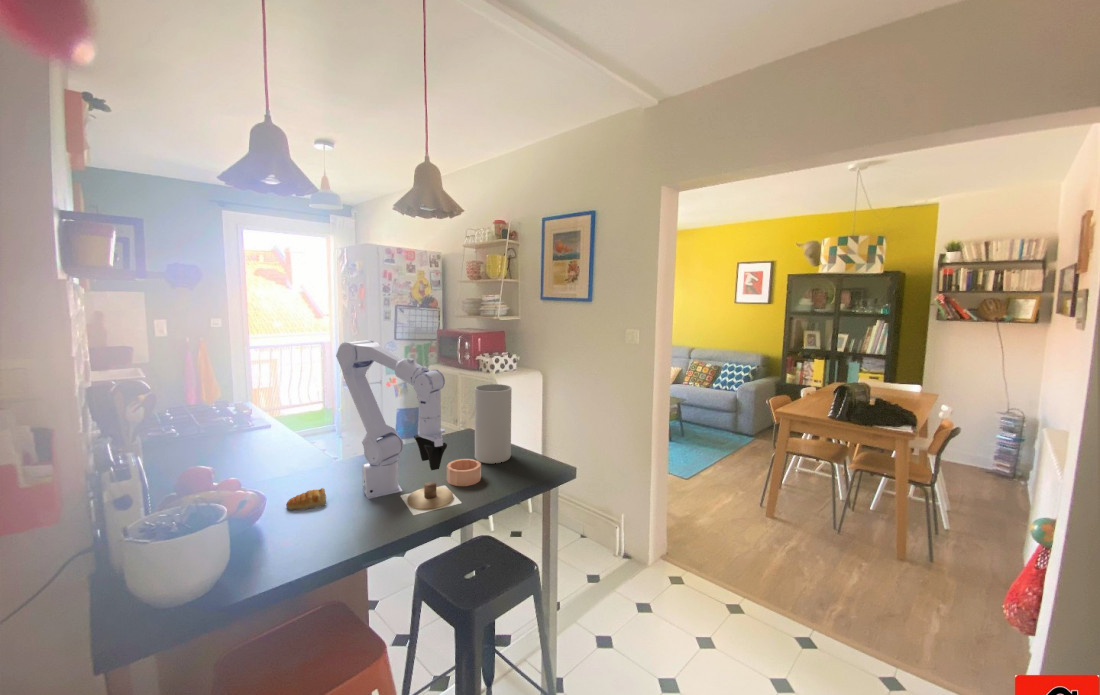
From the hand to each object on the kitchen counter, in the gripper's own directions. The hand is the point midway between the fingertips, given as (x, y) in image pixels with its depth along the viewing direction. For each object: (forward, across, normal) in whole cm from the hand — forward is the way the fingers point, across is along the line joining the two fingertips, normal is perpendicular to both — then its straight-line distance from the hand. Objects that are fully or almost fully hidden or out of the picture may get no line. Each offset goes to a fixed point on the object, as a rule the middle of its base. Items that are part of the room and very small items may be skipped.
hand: (430, 464), depth 118 cm
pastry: (+11, +15, +28) cm, 33 cm away
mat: (+10, 0, 0) cm, 10 cm away
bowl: (+10, +8, -13) cm, 18 cm away
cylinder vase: (+11, +21, -29) cm, 37 cm away
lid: (+10, 0, 0) cm, 10 cm away
